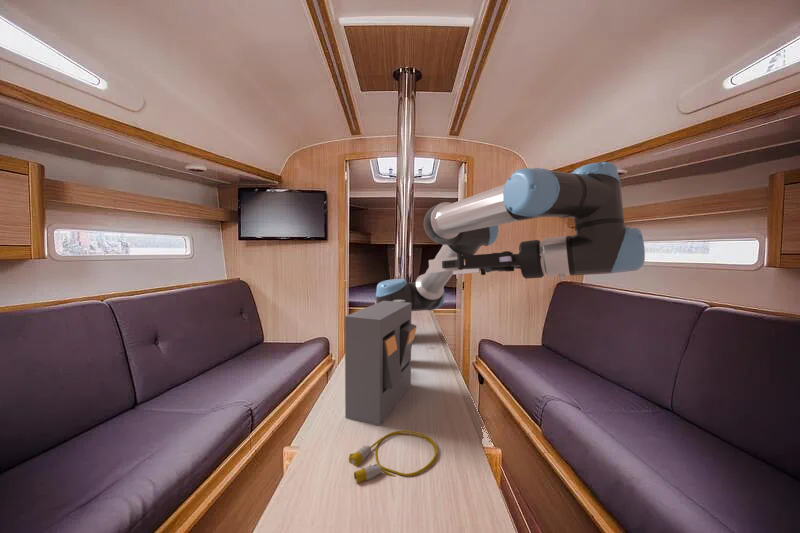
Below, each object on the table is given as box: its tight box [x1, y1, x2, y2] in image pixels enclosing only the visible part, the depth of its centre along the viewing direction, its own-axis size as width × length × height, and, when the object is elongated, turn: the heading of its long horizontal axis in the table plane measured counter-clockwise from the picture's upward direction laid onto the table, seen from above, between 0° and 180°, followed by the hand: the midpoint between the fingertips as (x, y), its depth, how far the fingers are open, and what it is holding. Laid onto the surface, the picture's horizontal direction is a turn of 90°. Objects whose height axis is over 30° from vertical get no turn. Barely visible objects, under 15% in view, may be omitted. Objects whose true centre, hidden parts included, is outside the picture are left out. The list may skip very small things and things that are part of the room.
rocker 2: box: [400, 323, 417, 369], centre depth 76 cm, size 6×2×10 cm, turn 159°
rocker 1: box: [383, 333, 402, 389], centre depth 67 cm, size 6×2×10 cm, turn 159°
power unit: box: [344, 301, 413, 426], centre depth 73 cm, size 20×8×22 cm, turn 159°
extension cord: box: [348, 430, 439, 485], centre depth 54 cm, size 12×16×2 cm
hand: (442, 267), depth 71 cm, fingers open, 13 cm apart
